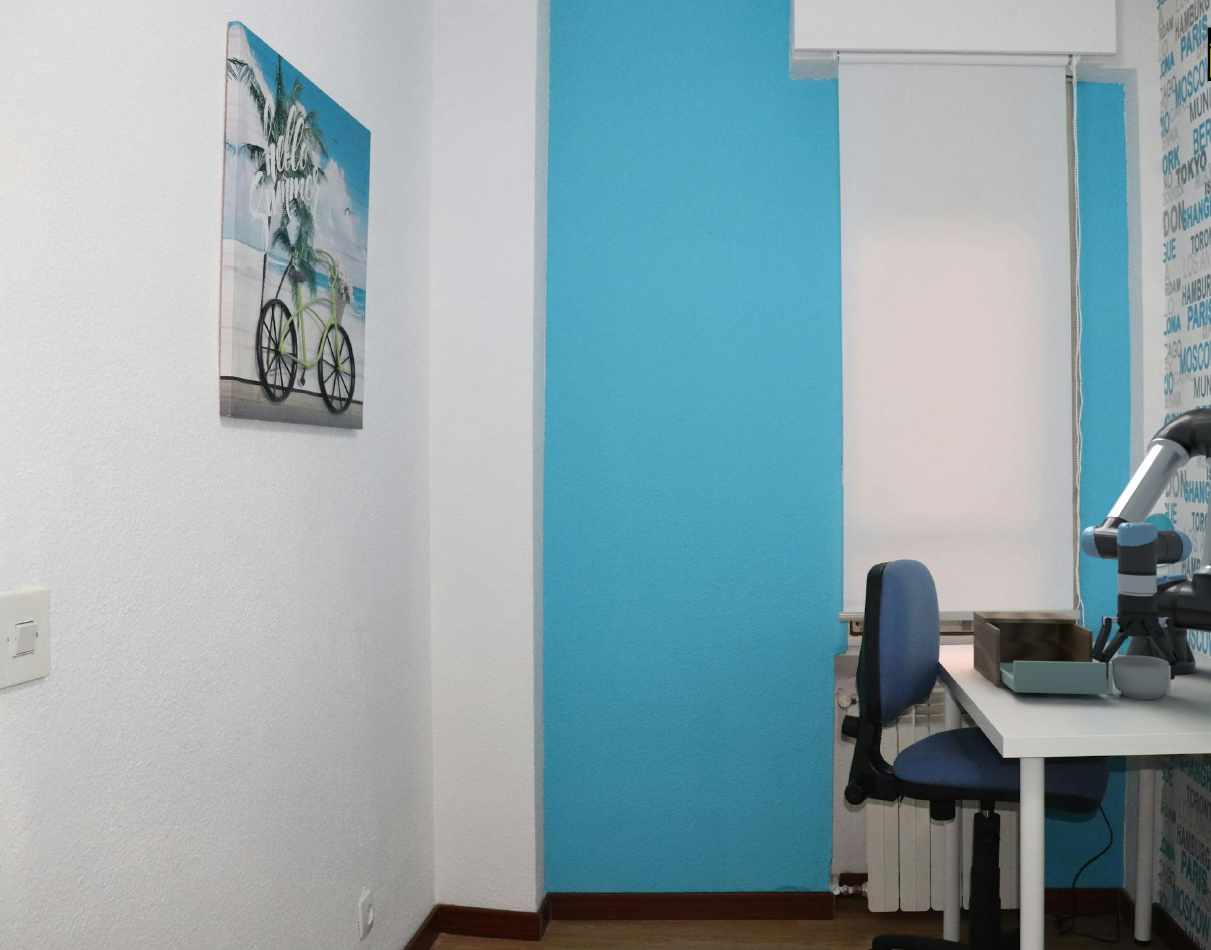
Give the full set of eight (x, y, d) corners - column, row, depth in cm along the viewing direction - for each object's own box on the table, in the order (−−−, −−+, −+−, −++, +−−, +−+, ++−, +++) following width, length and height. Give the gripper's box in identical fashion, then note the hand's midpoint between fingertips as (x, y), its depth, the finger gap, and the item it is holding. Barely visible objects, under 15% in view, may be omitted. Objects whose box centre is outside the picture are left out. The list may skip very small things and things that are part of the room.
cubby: (1061, 669, 228) (1061, 612, 228) (1092, 689, 208) (1092, 626, 208) (973, 667, 231) (973, 611, 231) (996, 686, 211) (996, 625, 211)
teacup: (1177, 703, 195) (1177, 665, 195) (1121, 701, 197) (1120, 663, 197) (1152, 688, 209) (1152, 652, 209) (1099, 686, 211) (1099, 651, 211)
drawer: (1072, 673, 218) (1072, 645, 218) (1106, 694, 198) (1106, 663, 198) (989, 672, 220) (989, 644, 220) (1014, 692, 201) (1014, 661, 201)
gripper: (1186, 591, 205) (1186, 691, 205) (1073, 590, 208) (1073, 688, 208) (1203, 596, 198) (1203, 699, 198) (1086, 595, 201) (1086, 696, 201)
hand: (1137, 693), depth 203 cm, fingers open, 11 cm apart
